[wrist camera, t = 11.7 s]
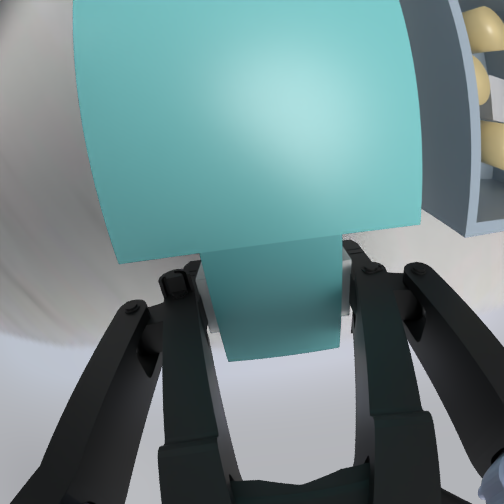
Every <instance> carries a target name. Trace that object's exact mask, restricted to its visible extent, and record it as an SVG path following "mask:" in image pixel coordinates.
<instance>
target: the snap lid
mask: <svg viewBox="0 0 504 504" xmlns="http://www.w3.org/2000/svg"><path fill="white" fill-rule="evenodd" d="M73 44H74V61H75V73H76V83H77V92H78V99H79V107H80V113H81V120H82V126H83V132H84V137H85V142H86V147H87V152H88V157H89V162H90V166H91V171H92V175H93V179H94V183H95V187H96V191H97V195H98V199H99V202H100V206H101V210H102V213H103V217H104V220H105V223H106V227H107V230H108V233H109V236H110V240H111V243H112V246H113V249H114V252H115V255H116V258H117V260H118V263H119V264H124V263H132V262H139V261H146V260H153V259H160V258H168V257H175V256H182V255H190V254H197V253H200V258H201V262H202V266H203V270H204V274H205V278H206V282H207V286H208V290H209V294H210V297H211V301H212V305H213V309H214V313H215V316H216V320H217V324H218V327H219V331H220V334H221V338H222V342H223V345H224V349H225V352H226V356H227V359H228V361H229V362H232V361H242V360H253V359H263V358H271V357H280V356H288V355H295V354H302V353H309V352H315V351H321V350H327V349H333V348H338V347H339V345H340V329H341V307H342V234H349V233H356V232H364V231H372V230H380V229H388V228H396V227H404V226H412V225H420V221H421V204H422V137H421V121H420V109H419V99H418V90H417V83H416V76H415V69H414V63H413V57H412V52H411V47H410V42H409V37H408V33H407V29H406V24H405V20H404V16H403V13H402V9H401V5H400V2H399V0H73Z"/></svg>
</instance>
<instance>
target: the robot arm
mask: <svg viewBox="0 0 504 504" xmlns="http://www.w3.org/2000/svg"><path fill="white" fill-rule="evenodd" d="M158 282H159V285H160V288H161V291H162V294H163V296H164V302H163V303H161V304H158V305H155V306H151V307H148V306H147V304H146V302H145V301H143V300H131V301H128V302H126V303H125V304H124V305H122V306H121V307H120V309H119V310H118V311H117V313H116V315H115V316H114V318H113V320H112V322H111V323H110V325H109V327H108V328H107V330H106V332H105V334H104V335H103V337H102V339H101V341H100V342H99V344H98V346H97V348H96V349H95V351H94V353H93V355H92V357H91V359H90V361H89V362H88V364H87V366H86V368H85V370H84V372H83V374H82V375H81V378H80V379H79V381H78V383H77V385H76V387H75V389H74V391H73V393H72V395H71V397H70V399H69V401H68V403H67V406H66V408H65V410H64V412H63V414H62V416H61V418H60V420H59V423H58V425H57V427H56V429H55V432H54V434H53V436H52V438H51V441H50V443H49V445H48V448H47V450H46V452H45V455H44V457H43V460H42V462H41V465H40V467H39V468H38V469H37V470H36V471H35V473H34V474H33V475H32V476H31V478H30V479H29V480H28V481H27V483H26V484H25V485H24V486H23V488H22V489H21V490H20V491H19V493H18V494H17V495H16V496H15V498H14V499H13V500H12V502H11V503H10V504H125V500H126V497H127V493H128V488H129V483H130V479H131V476H132V471H133V467H134V463H135V459H136V455H137V452H138V448H139V444H140V440H141V436H142V433H143V429H144V425H145V422H146V418H147V414H148V411H149V408H150V404H151V401H152V397H153V393H154V390H155V387H156V384H157V381H158V377H159V374H160V371H161V367H162V373H163V375H162V377H163V413H164V432H165V444H164V445H163V446H161V447H159V450H158V469H159V481H160V491H161V501H162V504H472V503H470V502H468V501H465V500H463V499H461V498H459V497H457V496H456V495H454V494H452V493H450V492H448V491H446V490H444V489H442V488H441V484H440V471H439V461H438V452H437V445H436V437H435V430H434V424H433V420H432V416H431V414H430V412H429V411H423V409H422V406H421V402H420V396H419V391H418V386H417V380H416V376H415V371H414V366H413V362H412V358H411V353H410V349H409V345H408V341H409V343H410V345H411V347H412V348H413V350H414V352H415V353H416V355H417V357H418V359H419V360H420V362H421V364H422V366H423V367H424V369H425V371H426V373H427V375H428V376H429V378H430V380H431V382H432V384H433V386H434V387H435V389H436V391H437V393H438V395H439V397H440V399H441V401H442V403H443V405H444V407H445V409H446V410H447V413H448V415H449V417H450V419H451V421H452V423H453V425H454V427H455V429H456V431H457V433H458V435H459V438H460V440H461V442H462V444H463V446H464V449H465V451H466V453H467V455H468V457H469V459H470V461H471V463H472V465H473V466H474V468H475V469H476V471H477V472H478V474H479V475H480V476H481V477H482V478H483V479H482V483H481V486H480V488H479V490H478V496H479V498H480V499H483V500H486V504H504V347H503V346H502V345H501V343H500V342H499V341H498V339H497V338H496V337H495V336H494V335H493V334H492V332H491V331H490V330H489V329H488V327H487V326H486V325H485V324H484V323H483V322H482V321H481V319H480V318H479V317H478V316H477V315H476V314H475V313H474V311H473V310H472V309H471V308H470V307H469V306H468V305H467V304H466V303H465V302H464V301H463V299H462V298H461V297H460V296H459V295H458V294H457V293H456V292H455V291H454V290H453V289H452V288H451V287H450V286H449V285H448V284H447V283H446V282H445V281H444V280H443V279H442V278H441V277H440V276H439V275H438V274H437V273H436V272H435V271H434V270H433V269H432V268H431V267H430V266H428V265H426V264H423V263H421V262H420V263H419V262H415V263H409V264H407V265H406V266H405V267H404V273H388V272H387V271H386V268H385V267H384V266H383V265H381V264H380V263H376V262H372V261H371V260H370V259H369V258H368V256H367V255H366V254H365V253H364V251H363V250H362V249H361V247H360V246H359V245H358V244H357V243H356V242H354V241H352V240H344V241H342V307H341V316H346V315H349V311H350V306H351V308H352V310H353V314H352V327H351V333H353V340H354V357H355V383H356V439H355V441H356V442H355V458H354V464H353V467H349V468H344V469H340V470H338V471H336V472H334V473H331V474H329V475H327V476H324V477H322V478H319V479H317V480H314V481H311V482H309V483H306V484H303V485H294V484H283V483H276V482H269V481H262V480H250V481H243V480H242V478H241V475H240V472H239V469H238V465H237V461H236V458H235V454H234V450H233V446H232V442H231V438H230V434H229V430H228V426H227V421H226V417H225V413H224V408H223V404H222V400H221V395H220V391H219V386H218V381H217V376H216V372H215V366H214V361H213V356H212V351H211V346H210V341H209V337H208V334H207V326H209V329H210V333H216V332H220V331H219V327H218V324H217V320H216V316H215V313H214V309H213V305H212V301H211V297H210V294H209V290H208V286H207V282H206V278H205V274H204V270H203V266H202V262H201V260H197V261H190V262H189V263H188V264H187V265H186V266H185V267H184V269H176V270H172V271H169V272H167V273H165V274H163V275H162V276H161V277H160V278H159V280H158ZM407 340H408V341H407Z"/></svg>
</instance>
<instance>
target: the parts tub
mask: <svg viewBox="0 0 504 504" xmlns="http://www.w3.org/2000/svg"><path fill="white" fill-rule="evenodd" d="M399 2H400V5H401V9H402V13H403V16H404V20H405V24H406V29H407V33H408V37H409V42H410V47H411V52H412V57H413V63H414V69H415V76H416V83H417V90H418V99H419V109H420V121H421V137H422V204H421V209H423V210H424V211H426V212H428V213H429V214H431V215H432V216H434V217H435V218H437V219H438V220H440V221H441V222H443V223H444V224H446V225H447V226H449V227H450V228H452V229H453V230H455V231H456V232H458V233H459V234H460V235H462V236H463V237H465V238H466V237H472V236H478V235H484V234H490V233H496V232H501V231H504V0H399Z"/></svg>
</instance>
